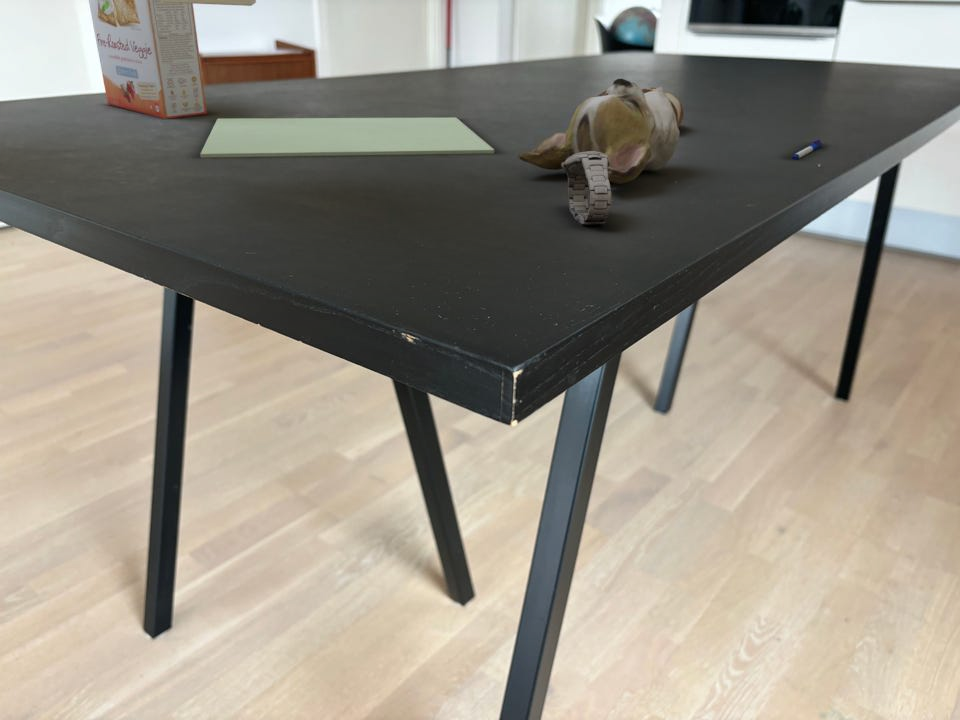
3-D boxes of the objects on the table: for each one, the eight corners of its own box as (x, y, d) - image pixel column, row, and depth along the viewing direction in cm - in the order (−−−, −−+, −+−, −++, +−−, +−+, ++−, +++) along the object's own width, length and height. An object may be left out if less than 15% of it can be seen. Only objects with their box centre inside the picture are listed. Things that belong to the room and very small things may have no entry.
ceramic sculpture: (718, 74, 67) (621, 98, 57) (705, 173, 71) (613, 211, 61) (615, 64, 73) (512, 84, 64) (609, 156, 77) (512, 188, 68)
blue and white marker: (813, 146, 87) (815, 137, 87) (821, 147, 87) (823, 138, 86) (790, 161, 79) (792, 151, 79) (799, 162, 79) (801, 152, 78)
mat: (200, 159, 71) (200, 153, 71) (217, 122, 89) (217, 118, 88) (494, 154, 77) (494, 149, 77) (456, 121, 94) (456, 117, 94)
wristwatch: (596, 209, 59) (602, 143, 57) (620, 233, 54) (628, 161, 52) (551, 210, 59) (556, 143, 57) (571, 234, 53) (578, 161, 51)
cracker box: (104, 106, 97) (69, -85, 88) (149, 102, 101) (121, -81, 92) (162, 121, 89) (131, -89, 79) (209, 115, 93) (184, -84, 84)
